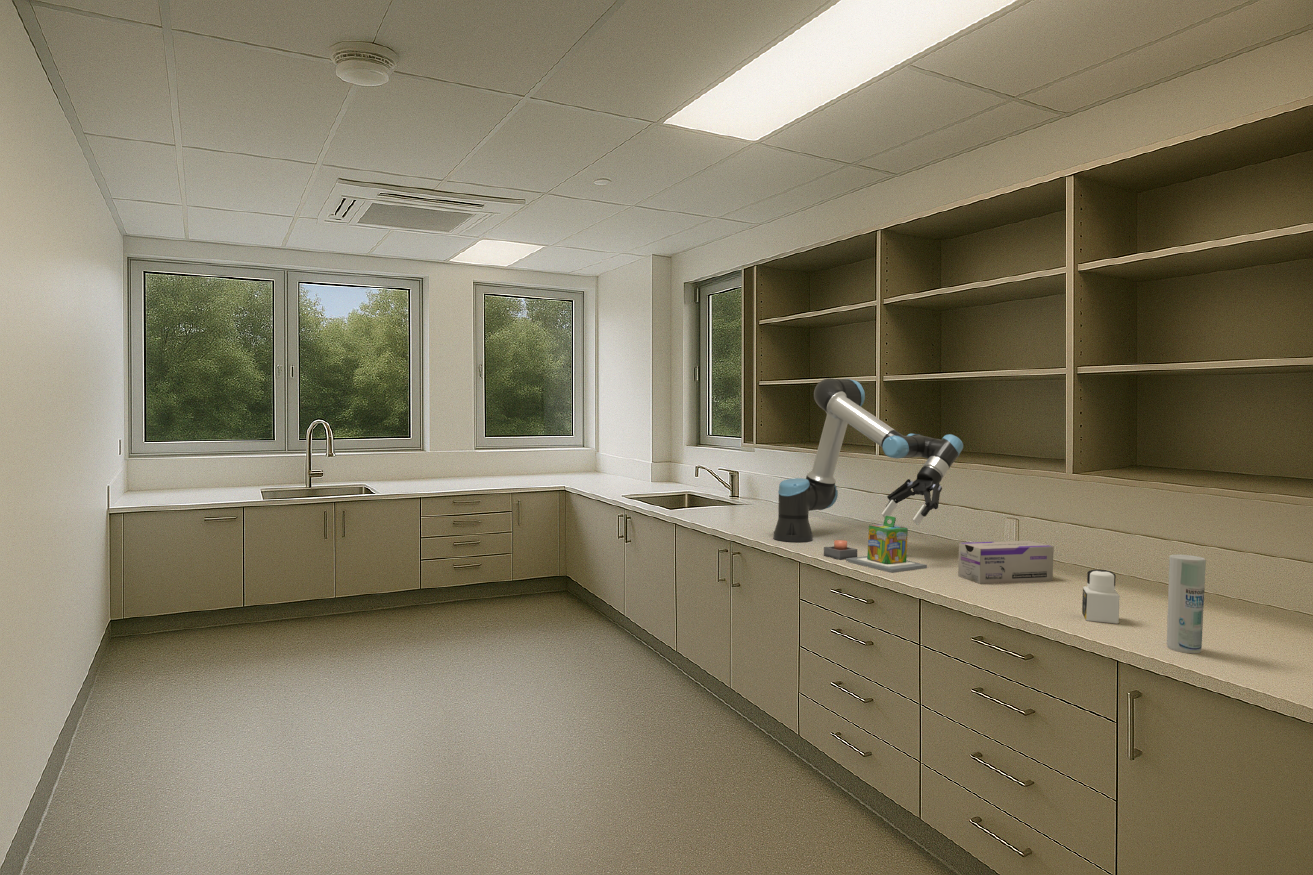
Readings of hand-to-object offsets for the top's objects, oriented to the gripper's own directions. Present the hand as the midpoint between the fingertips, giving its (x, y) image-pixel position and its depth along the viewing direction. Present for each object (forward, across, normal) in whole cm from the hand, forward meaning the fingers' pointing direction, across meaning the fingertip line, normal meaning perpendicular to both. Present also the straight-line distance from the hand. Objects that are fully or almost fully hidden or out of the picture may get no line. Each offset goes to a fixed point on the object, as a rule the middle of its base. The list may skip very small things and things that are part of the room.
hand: (899, 519), depth 259 cm
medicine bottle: (+15, -72, -5) cm, 74 cm away
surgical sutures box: (+2, -31, -19) cm, 37 cm away
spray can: (+21, -96, +1) cm, 98 cm away
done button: (+15, +18, -2) cm, 23 cm away
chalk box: (+13, 0, -6) cm, 15 cm away
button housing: (+17, +18, -4) cm, 25 cm away
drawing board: (+14, +1, -7) cm, 16 cm away
